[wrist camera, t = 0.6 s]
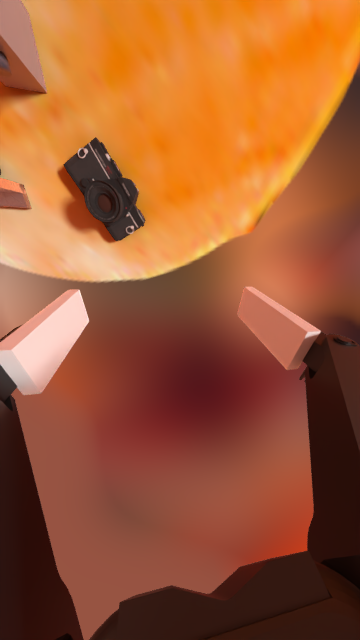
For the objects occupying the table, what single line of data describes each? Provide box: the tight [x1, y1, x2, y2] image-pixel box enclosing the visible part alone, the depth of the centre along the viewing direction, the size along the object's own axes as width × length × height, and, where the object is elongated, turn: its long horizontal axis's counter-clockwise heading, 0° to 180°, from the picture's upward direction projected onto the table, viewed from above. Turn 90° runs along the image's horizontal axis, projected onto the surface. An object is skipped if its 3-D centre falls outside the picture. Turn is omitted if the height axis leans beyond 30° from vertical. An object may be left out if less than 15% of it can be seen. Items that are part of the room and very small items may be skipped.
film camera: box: [63, 137, 145, 241], centre depth 26 cm, size 13×8×10 cm
